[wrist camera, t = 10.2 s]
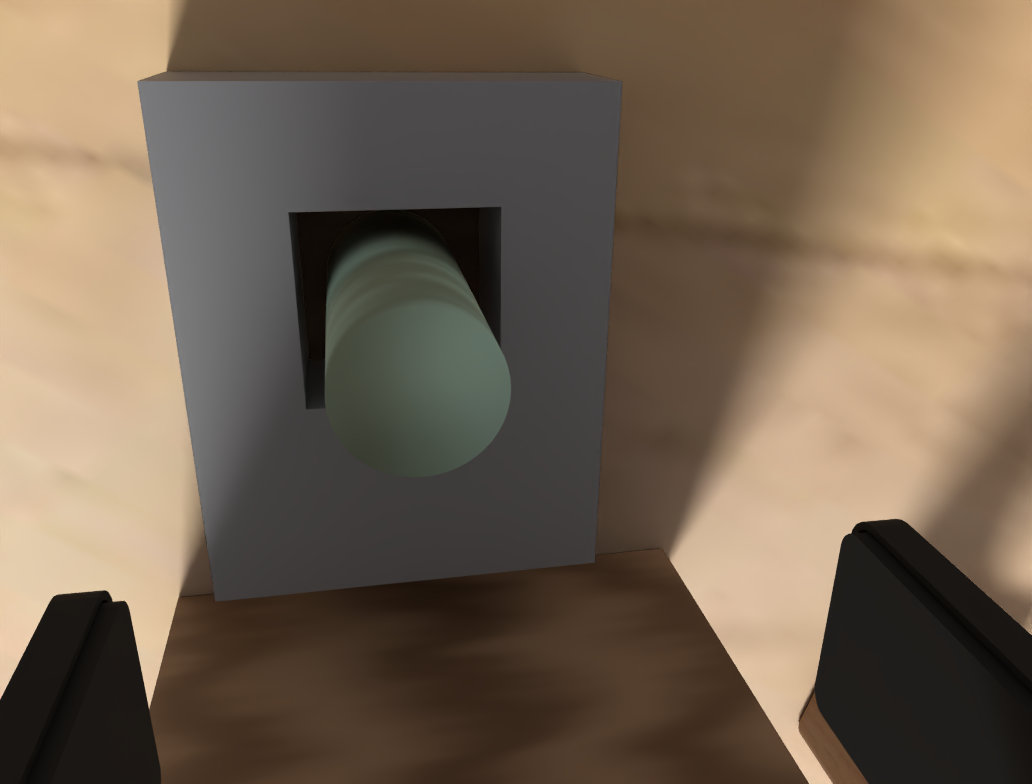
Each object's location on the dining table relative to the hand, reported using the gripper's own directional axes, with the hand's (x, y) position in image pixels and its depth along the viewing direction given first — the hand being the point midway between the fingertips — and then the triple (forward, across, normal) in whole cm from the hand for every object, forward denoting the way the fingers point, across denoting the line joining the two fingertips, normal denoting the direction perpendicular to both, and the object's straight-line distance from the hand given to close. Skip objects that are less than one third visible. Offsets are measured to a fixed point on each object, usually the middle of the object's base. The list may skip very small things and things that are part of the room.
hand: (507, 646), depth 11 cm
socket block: (+18, +1, +2) cm, 18 cm away
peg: (+18, +1, 0) cm, 18 cm away
